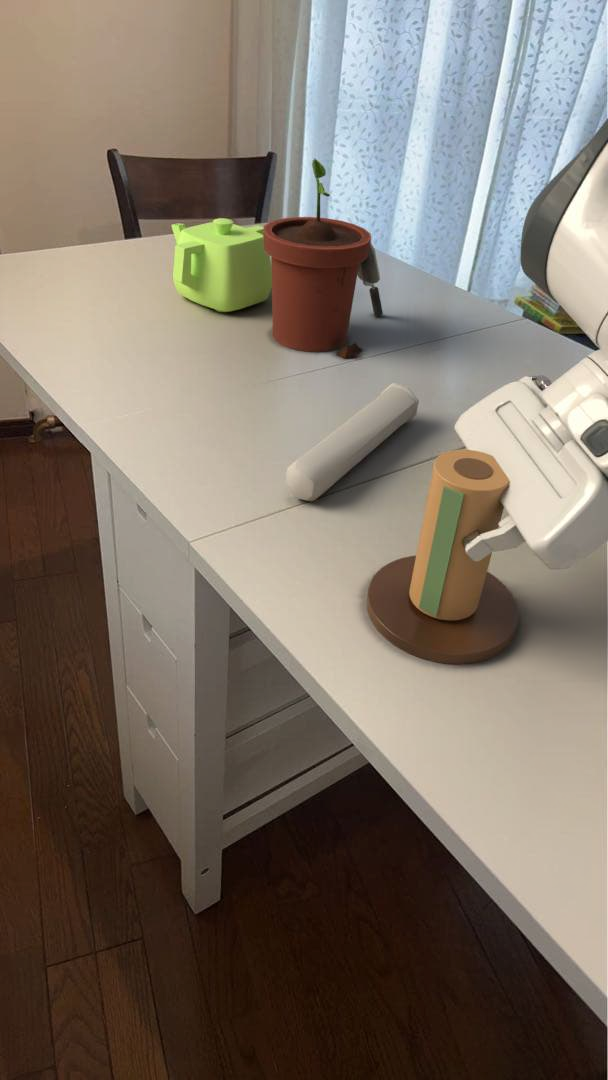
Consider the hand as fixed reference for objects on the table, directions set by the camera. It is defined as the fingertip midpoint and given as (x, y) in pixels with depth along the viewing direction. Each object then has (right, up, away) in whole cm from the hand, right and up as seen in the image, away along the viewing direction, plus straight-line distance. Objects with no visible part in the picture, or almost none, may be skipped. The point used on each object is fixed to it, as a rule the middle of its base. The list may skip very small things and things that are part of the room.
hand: (453, 525), depth 69 cm
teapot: (-28, +40, +67) cm, 83 cm away
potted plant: (-9, +31, +57) cm, 66 cm away
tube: (-7, +8, +27) cm, 29 cm away
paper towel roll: (0, -7, +5) cm, 8 cm away
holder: (0, -8, +6) cm, 10 cm away
